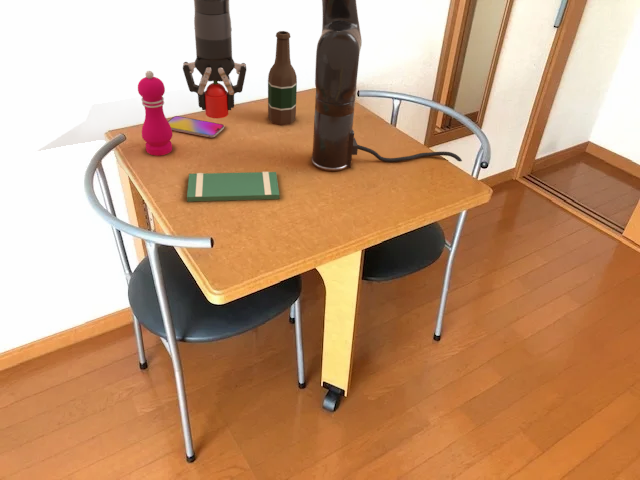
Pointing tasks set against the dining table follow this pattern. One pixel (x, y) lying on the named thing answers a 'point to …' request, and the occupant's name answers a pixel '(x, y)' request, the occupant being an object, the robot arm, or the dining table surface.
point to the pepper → (216, 101)
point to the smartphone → (195, 126)
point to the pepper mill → (154, 116)
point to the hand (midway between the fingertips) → (216, 108)
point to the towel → (232, 186)
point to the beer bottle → (282, 84)
